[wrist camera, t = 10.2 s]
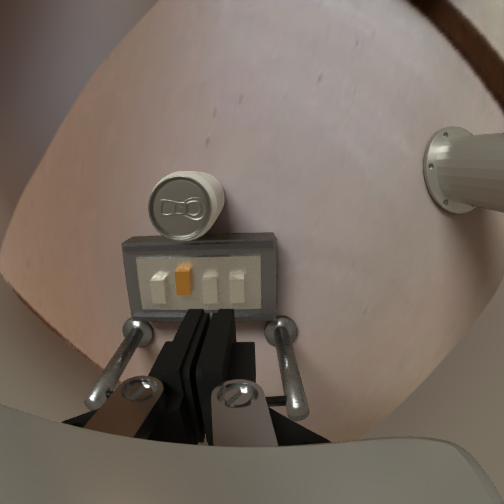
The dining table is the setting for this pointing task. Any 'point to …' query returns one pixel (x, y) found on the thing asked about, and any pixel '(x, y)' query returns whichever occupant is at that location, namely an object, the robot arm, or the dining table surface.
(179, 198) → the can
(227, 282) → the breaker panel
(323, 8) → the dining table surface
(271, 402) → the cord stand
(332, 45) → the dining table surface
